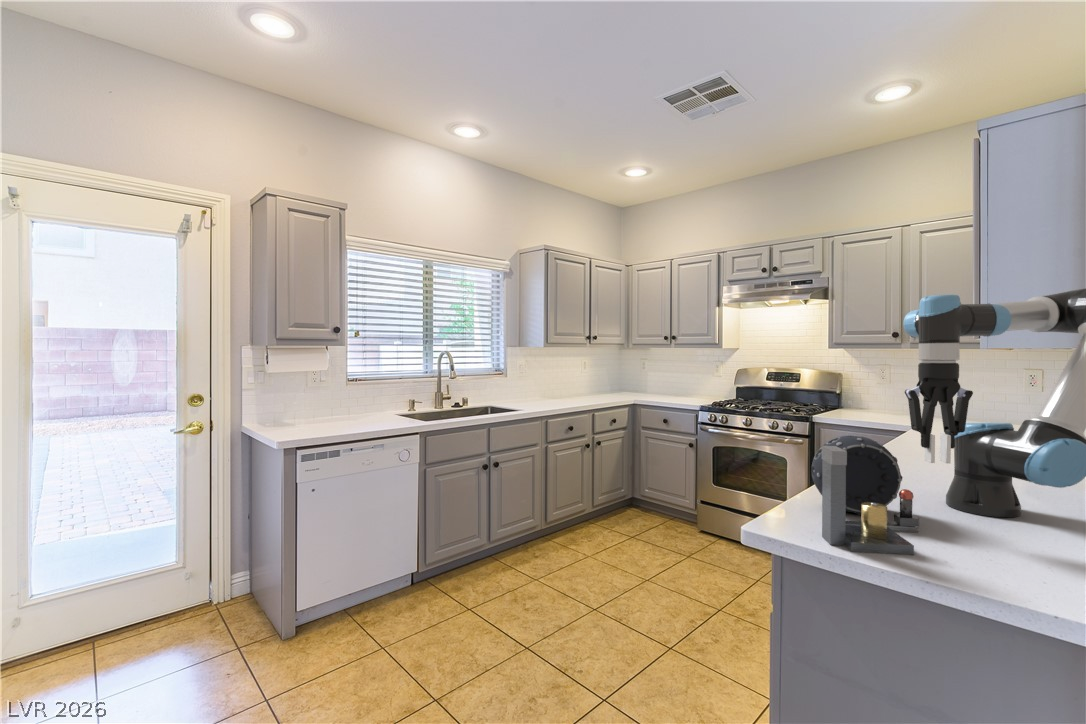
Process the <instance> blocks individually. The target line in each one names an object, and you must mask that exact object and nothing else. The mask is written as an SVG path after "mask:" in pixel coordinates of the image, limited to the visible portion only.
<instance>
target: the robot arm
mask: <svg viewBox="0 0 1086 724" xmlns="http://www.w3.org/2000/svg"><path fill="white" fill-rule="evenodd" d="M902 325H903V329H904V332H905V333H906V334H907V335H908V336H910V337H912V338H918V360H919V361H921V362H919V363H918V366H917V369H918V371H917V375H918V382H917V384H916V386H915V387H913V388H911V389H904V394H905V396H906V398H907V400H908V411H909V419H910V427H911V428H910V429H912V430H913V431H915V432H919V433H920V446H921V447H922V448H924V456H923V457H924V461H925V462H927V463H931V464H935V462H936V460H935V458H936V435H935V434H932V429H933V425H934V417H935V412H936V407H937V405H940V412H941V413H940V414H941V419H942V420H941V421H942V427H943V433H940V434H939V461H940V462H942V463H945V464H951V458H952V457H951V454H952V452H951V451H952V449H953V450H954V451H953V452H954V456H953V457H954V459H953V460H954V461H953V463H954V464H953V465H954V466H953V467H954V477H953V478H952V481H951V483H950V486H949V488H948V490H947V492H946V494H945V504H946V505H947V506H949V507H950V508H953V509H956V510H958V511H962V512H965V513H969V514H973V515H980V516H986V517H994V518H1017V517H1020V516H1021V515H1022V505H1021V503H1020V500H1019V496H1018V495H1017V493H1016V490H1015V487H1014V485H1013V479H1018V480H1020V481H1021V480H1022V481H1027V482H1029V483H1032V484H1035V485H1038V486H1044V487H1045V486H1048V487H1052V488H1059V489H1062V488H1063V489H1064V488H1067V487H1072V486H1075V485H1077V484H1079V483H1081V482H1082V481H1083V480H1085V478H1086V435H1085V434H1084V433H1085V431H1086V288H1080V289H1075V290H1069V291H1064V292H1058V293H1053V294H1048V295H1037V296H1033V297H1030V298H1028V299H1027V300H1023V301H1010V302H1009V301H1008V302H997V303H996V302H995V303H990V302H989V303H971V304H969V303H966V304H964V303H962V302H961V297H960V296H959V295H957V294H937V295H936V294H934V295H928V296H924V297H922V298H921V299H920V300H919V305H918V309H914V310H911V311H909V312H908V313H907V314H905V316H904V319H903V324H902ZM1024 330H1028V331H1031V332H1034V333H1067V334H1080V336H1081V339H1080V340H1079V342H1078V344H1077V345H1076V347H1075V349H1074V351H1073V352H1072V354H1071V356H1070V357H1069V359H1068V361H1067V362H1066V364H1065V365H1064V368H1063V369H1062V371H1061V372H1060V374H1059V376H1058V378H1057V380H1056V382H1055V383H1054V385H1053V386H1052V388H1051V390H1050V391H1049V393H1048V395H1047V397H1046V398H1045V400H1044V402H1043V404H1042V405H1041V407H1040V409H1039V410H1038V412H1037V414H1036V416H1035V417H1030V418H1026V419H1024V420H1023V422H1021V425H1020V426H1019V428H1018V430H1015V428H1014V425H1013V424H1012V423H1011V422H967V418H968V417H967V416H968V411H969V404H970V403H969V402H970V400H971V398H972V396H973V394H974V391H972V390H969V389H965V388H964V387H963V388H962V387H961V384H960V383H959V378H960V364H959V363H957V361H959V360H960V341H961V337H992V336H994V337H995V336H1000V335H1002V334H1004V333H1005V332H1011V331H1014V332H1015V331H1024ZM920 394H921V395H922V397H923V398H922V404H923V406H922V407H923V408H922V410H921V402H920V398H919V397H920ZM955 396H956V399H955V406H954V397H955ZM953 407H955V408H953Z"/></svg>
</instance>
